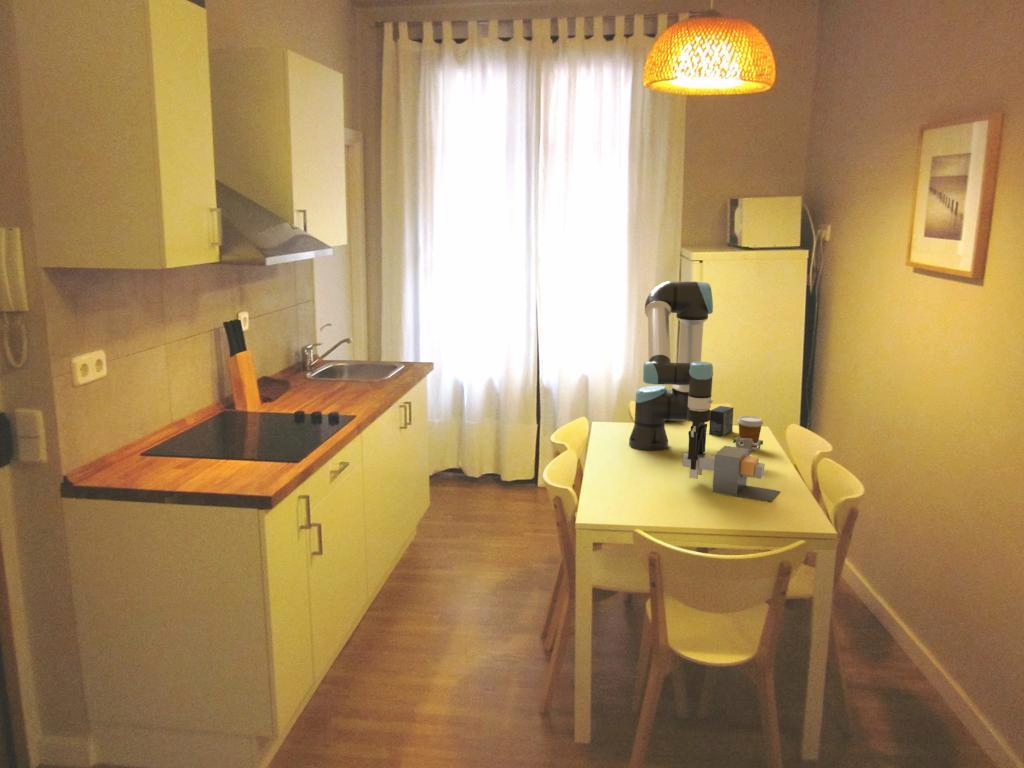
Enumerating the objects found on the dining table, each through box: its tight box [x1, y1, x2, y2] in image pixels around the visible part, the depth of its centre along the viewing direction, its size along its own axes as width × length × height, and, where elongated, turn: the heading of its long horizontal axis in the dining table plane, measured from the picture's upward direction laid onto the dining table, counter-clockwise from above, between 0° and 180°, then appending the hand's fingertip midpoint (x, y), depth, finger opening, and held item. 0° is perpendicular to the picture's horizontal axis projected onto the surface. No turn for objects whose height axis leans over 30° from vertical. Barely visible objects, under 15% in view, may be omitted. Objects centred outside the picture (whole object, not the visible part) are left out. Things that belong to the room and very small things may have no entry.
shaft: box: [682, 451, 765, 480], centre depth 280 cm, size 26×4×4 cm, turn 61°
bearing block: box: [712, 445, 749, 498], centre depth 280 cm, size 8×12×13 cm, turn 151°
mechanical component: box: [732, 436, 764, 456], centre depth 306 cm, size 3×10×10 cm, turn 78°
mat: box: [737, 484, 781, 503], centre depth 276 cm, size 12×12×1 cm
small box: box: [708, 405, 734, 437], centre depth 351 cm, size 11×6×10 cm, turn 144°
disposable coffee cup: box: [737, 415, 764, 452], centre depth 328 cm, size 10×10×12 cm
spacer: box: [740, 455, 760, 476], centre depth 276 cm, size 4×7×4 cm, turn 151°
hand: (695, 476), depth 286 cm, fingers closed on shaft, 4 cm apart
